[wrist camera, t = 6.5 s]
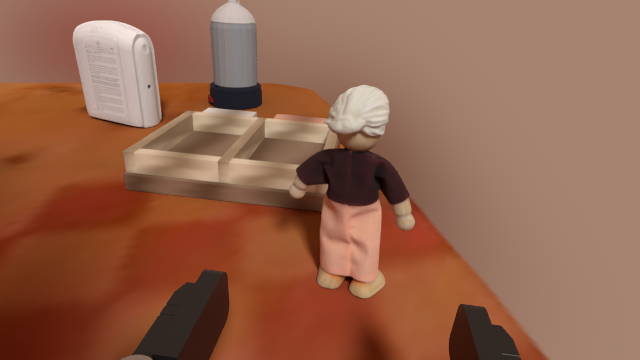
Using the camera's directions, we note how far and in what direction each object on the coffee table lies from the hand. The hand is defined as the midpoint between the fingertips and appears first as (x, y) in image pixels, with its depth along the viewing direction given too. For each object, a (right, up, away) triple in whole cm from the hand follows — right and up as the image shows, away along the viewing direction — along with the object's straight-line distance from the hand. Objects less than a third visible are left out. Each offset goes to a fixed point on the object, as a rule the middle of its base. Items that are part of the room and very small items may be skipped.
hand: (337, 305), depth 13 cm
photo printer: (-27, +12, +38) cm, 48 cm away
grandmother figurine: (+1, -2, +12) cm, 12 cm away
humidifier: (-14, +17, +49) cm, 53 cm away
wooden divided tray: (-8, +6, +27) cm, 29 cm away
